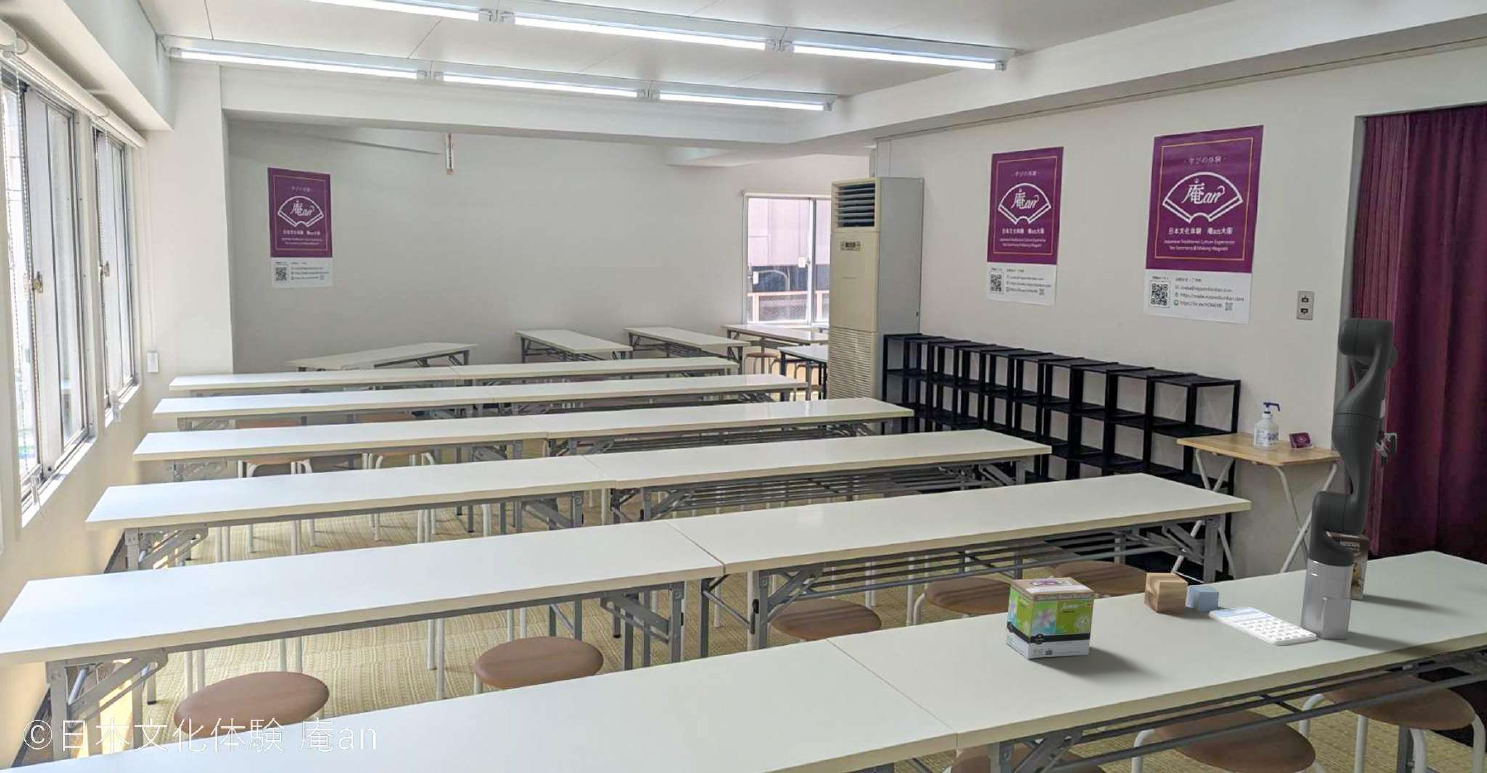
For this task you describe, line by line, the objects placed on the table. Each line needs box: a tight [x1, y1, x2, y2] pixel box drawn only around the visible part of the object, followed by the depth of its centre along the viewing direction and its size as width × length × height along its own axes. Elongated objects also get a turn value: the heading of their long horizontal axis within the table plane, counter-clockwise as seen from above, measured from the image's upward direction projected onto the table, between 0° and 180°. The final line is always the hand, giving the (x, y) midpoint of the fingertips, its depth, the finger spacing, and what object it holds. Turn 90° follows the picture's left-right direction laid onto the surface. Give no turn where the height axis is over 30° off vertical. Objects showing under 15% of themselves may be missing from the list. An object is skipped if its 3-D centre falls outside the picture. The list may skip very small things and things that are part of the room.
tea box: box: [1004, 576, 1096, 660], centre depth 224 cm, size 15×10×15 cm, turn 105°
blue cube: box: [1187, 584, 1220, 612], centre depth 255 cm, size 5×5×5 cm
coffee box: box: [1327, 531, 1371, 601], centre depth 268 cm, size 9×6×16 cm
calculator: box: [1208, 606, 1318, 646], centre depth 243 cm, size 13×20×2 cm, turn 21°
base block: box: [1143, 587, 1187, 614], centre depth 254 cm, size 7×7×4 cm
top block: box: [1145, 572, 1189, 599], centre depth 253 cm, size 7×7×4 cm
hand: (1363, 464), depth 282 cm, fingers open, 8 cm apart
